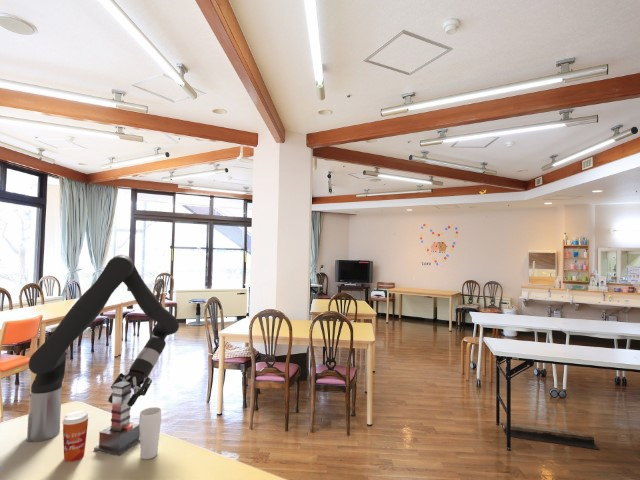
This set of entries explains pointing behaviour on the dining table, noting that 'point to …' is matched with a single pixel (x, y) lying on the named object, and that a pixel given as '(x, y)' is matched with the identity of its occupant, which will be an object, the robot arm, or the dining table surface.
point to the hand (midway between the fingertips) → (119, 404)
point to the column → (120, 406)
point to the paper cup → (75, 435)
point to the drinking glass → (149, 432)
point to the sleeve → (118, 440)
